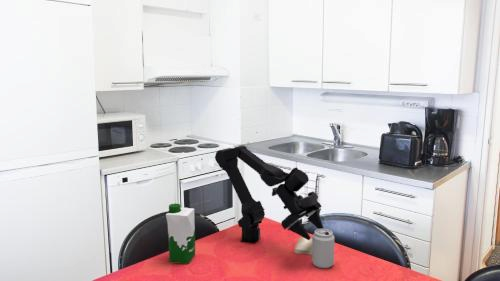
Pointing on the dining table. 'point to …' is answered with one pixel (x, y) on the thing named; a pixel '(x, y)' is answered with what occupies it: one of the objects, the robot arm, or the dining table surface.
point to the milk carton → (181, 234)
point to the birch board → (304, 246)
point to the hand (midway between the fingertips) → (316, 235)
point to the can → (323, 248)
